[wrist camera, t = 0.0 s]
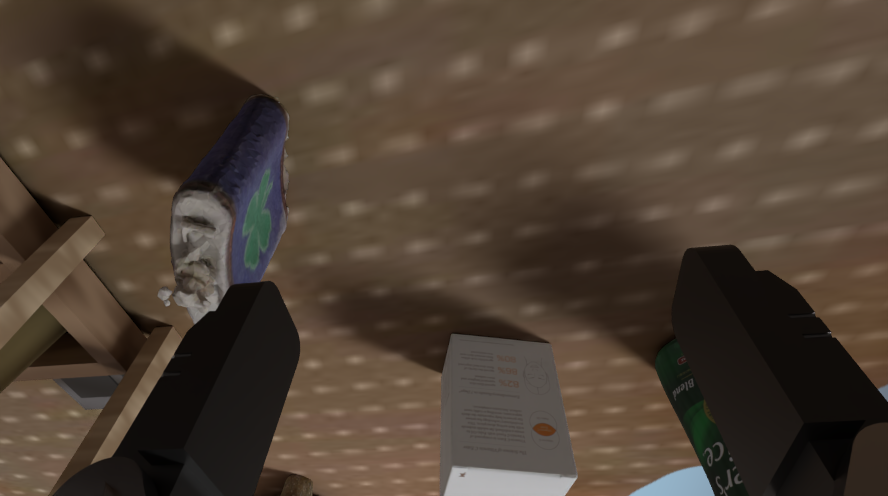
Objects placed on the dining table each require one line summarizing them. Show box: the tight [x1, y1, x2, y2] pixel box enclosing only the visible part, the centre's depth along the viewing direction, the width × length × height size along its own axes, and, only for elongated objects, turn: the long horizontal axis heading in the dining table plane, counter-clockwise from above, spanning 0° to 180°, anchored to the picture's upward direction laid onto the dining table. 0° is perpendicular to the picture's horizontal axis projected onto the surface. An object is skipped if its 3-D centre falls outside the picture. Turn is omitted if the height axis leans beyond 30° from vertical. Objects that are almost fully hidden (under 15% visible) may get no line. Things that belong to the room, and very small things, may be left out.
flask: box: [158, 94, 290, 324], centre depth 24 cm, size 9×3×11 cm, turn 167°
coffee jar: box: [655, 339, 749, 496], centre depth 30 cm, size 10×8×19 cm
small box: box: [440, 334, 577, 496], centre depth 35 cm, size 8×6×10 cm
